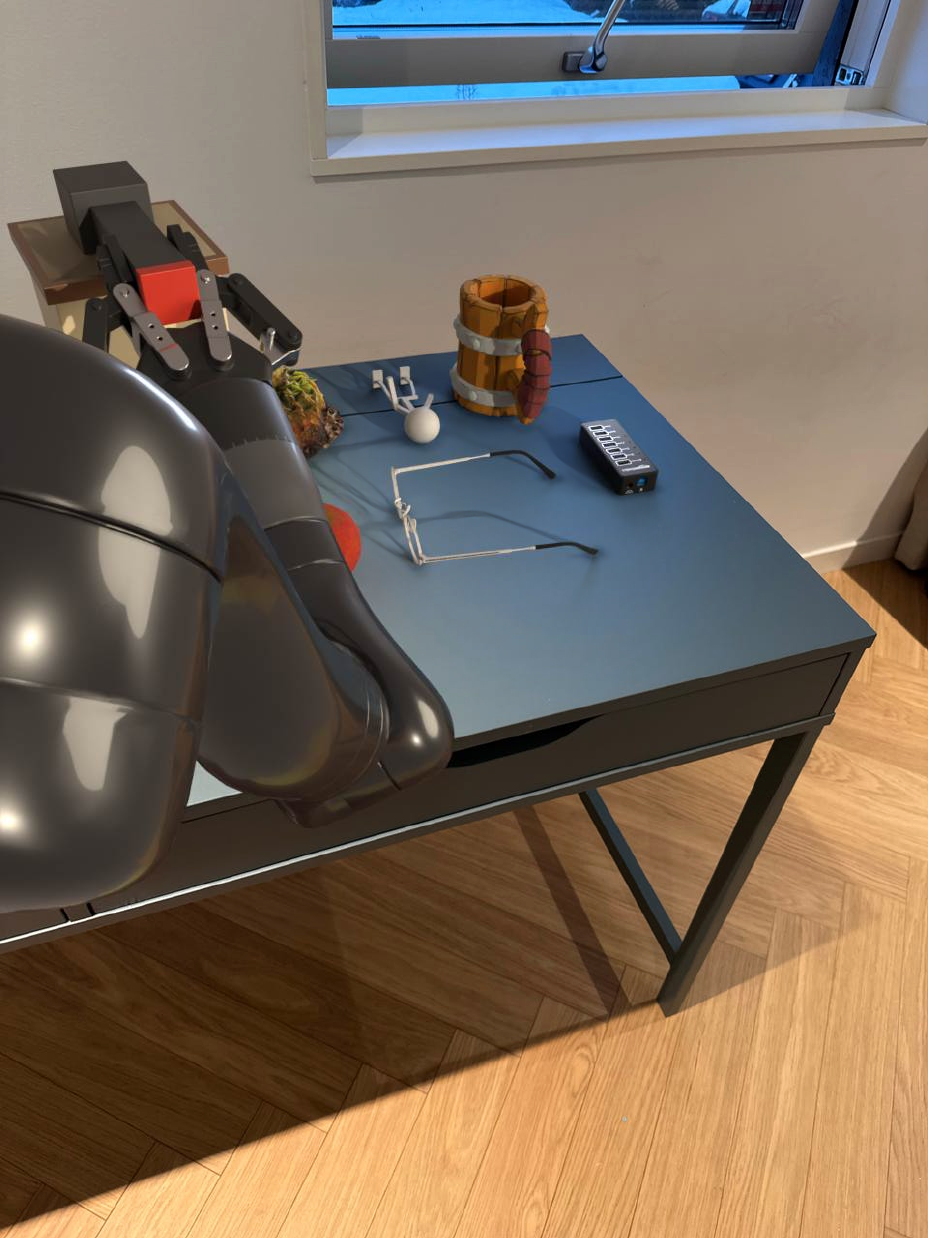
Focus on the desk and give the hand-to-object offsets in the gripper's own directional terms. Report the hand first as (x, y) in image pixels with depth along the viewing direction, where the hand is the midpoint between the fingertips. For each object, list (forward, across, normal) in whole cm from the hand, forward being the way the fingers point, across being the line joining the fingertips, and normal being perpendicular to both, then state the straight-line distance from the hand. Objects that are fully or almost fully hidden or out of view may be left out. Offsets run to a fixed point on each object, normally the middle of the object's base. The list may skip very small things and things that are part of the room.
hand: (140, 239), depth 55 cm
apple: (-15, -10, +30) cm, 35 cm away
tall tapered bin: (-9, 0, +33) cm, 34 cm away
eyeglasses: (-15, -28, +29) cm, 43 cm away
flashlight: (+1, 0, +4) cm, 4 cm away
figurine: (+4, -31, +40) cm, 51 cm away
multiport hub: (-13, -46, +31) cm, 57 cm away
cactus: (+6, -15, +42) cm, 45 cm away
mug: (+1, -42, +39) cm, 57 cm away
